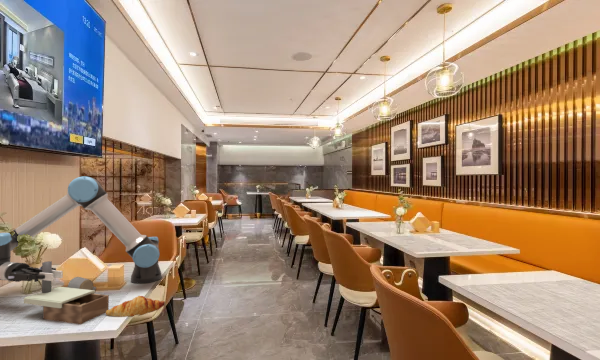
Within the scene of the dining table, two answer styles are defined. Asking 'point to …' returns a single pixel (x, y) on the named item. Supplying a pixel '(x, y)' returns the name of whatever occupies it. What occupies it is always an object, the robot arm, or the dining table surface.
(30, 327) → the dining table surface
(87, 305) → the brown wooden box
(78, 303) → the oak block
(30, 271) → the robot arm
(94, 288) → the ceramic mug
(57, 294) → the lid
